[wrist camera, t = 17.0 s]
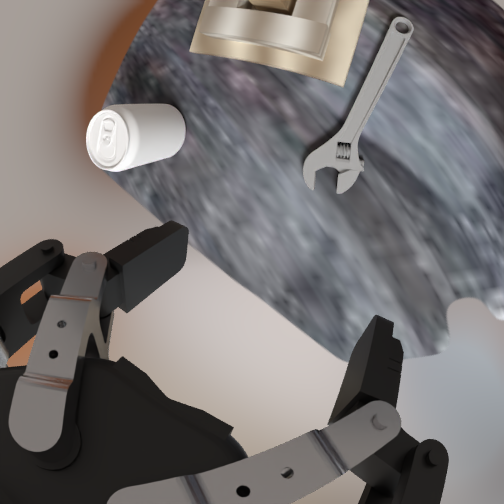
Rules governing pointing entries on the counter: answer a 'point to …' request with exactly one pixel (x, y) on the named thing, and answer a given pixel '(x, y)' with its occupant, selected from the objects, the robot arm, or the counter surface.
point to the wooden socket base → (284, 35)
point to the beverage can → (134, 135)
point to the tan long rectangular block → (275, 6)
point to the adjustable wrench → (358, 115)
